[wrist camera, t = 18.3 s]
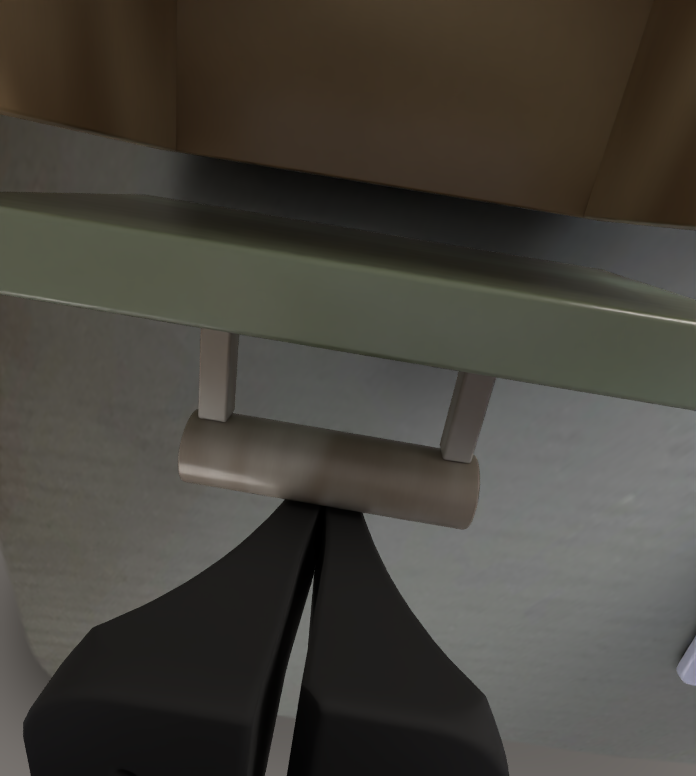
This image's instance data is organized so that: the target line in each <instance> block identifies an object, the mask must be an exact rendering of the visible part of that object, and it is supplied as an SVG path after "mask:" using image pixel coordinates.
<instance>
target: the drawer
mask: <svg viewBox="0 0 696 776" xmlns="http://www.w3.org/2000/svg"><path fill="white" fill-rule="evenodd" d="M0 114H2V115H6V116H11V117H15V118H20V119H24V120H29V121H33V122H38V123H42V124H47V125H51V126H56V127H60V128H65V129H70V130H74V131H79V132H83V133H88V134H92V135H97V136H101V137H106V138H110V139H115V140H119V141H124V142H128V143H133V144H137V145H142V146H146V147H151V148H155V149H160V150H166V151H172V152H179V153H185V154H191V155H197V156H203V157H209V158H215V159H222V160H228V161H234V162H240V163H246V164H252V165H259V166H265V167H271V168H277V169H283V170H289V171H295V172H302V173H308V174H314V175H320V176H326V177H332V178H339V179H345V180H351V181H357V182H363V183H369V184H375V185H382V186H388V187H394V188H400V189H406V190H412V191H419V192H425V193H431V194H437V195H443V196H449V197H456V198H462V199H468V200H474V201H480V202H486V203H492V204H499V205H505V206H511V207H517V208H523V209H529V210H536V211H542V212H548V213H554V214H560V215H566V216H572V217H579V218H585V219H591V220H597V221H605V222H615V223H624V224H634V225H644V226H654V227H664V228H674V229H684V230H694V231H696V0H0ZM0 294H1V295H7V296H13V297H19V298H25V299H31V300H37V301H43V302H49V303H55V304H61V305H67V306H73V307H79V308H85V309H91V310H97V311H103V312H109V313H115V314H121V315H127V316H132V317H138V318H144V319H150V320H156V321H162V322H168V323H174V324H180V325H186V326H192V327H198V328H201V336H200V373H199V409H196V410H195V411H194V412H193V413H192V415H191V416H190V418H189V420H188V422H187V424H186V427H185V429H184V432H183V435H182V438H181V443H180V448H179V454H178V472H179V476H180V478H181V479H182V480H183V481H184V482H188V483H194V484H200V485H206V486H212V487H217V488H223V489H229V490H235V491H241V492H246V493H252V494H258V495H264V496H270V497H275V498H281V499H287V500H293V501H299V502H304V503H310V504H316V505H322V506H328V507H334V508H339V509H345V510H351V511H357V512H363V513H368V514H374V515H380V516H386V517H392V518H397V519H403V520H409V521H415V522H421V523H426V524H432V525H438V526H444V527H450V528H456V529H461V530H464V529H467V528H468V527H469V526H470V524H471V522H472V520H473V518H474V515H475V512H476V508H477V503H478V498H479V489H480V471H479V464H478V460H477V458H476V456H475V455H473V454H474V451H475V448H476V444H477V441H478V437H479V434H480V431H481V427H482V424H483V420H484V417H485V414H486V410H487V407H488V403H489V400H490V397H491V393H492V390H493V386H494V383H495V380H496V377H497V378H503V379H509V380H515V381H520V382H526V383H532V384H538V385H544V386H550V387H556V388H562V389H568V390H574V391H580V392H586V393H592V394H598V395H604V396H610V397H616V398H622V399H628V400H634V401H640V402H646V403H652V404H658V405H664V406H670V407H676V408H682V409H688V410H694V411H696V300H694V299H691V298H688V297H685V296H682V295H679V294H676V293H672V292H669V291H666V290H663V289H660V288H657V287H654V286H651V285H648V284H645V283H642V282H639V281H636V280H632V279H629V278H626V277H623V276H620V275H617V274H614V273H611V272H608V271H605V270H602V269H597V268H590V267H584V266H578V265H572V264H566V263H560V262H554V261H548V260H542V259H536V258H529V257H523V256H517V255H511V254H505V253H499V252H493V251H487V250H481V249H474V248H468V247H462V246H456V245H450V244H444V243H438V242H432V241H426V240H420V239H413V238H407V237H401V236H395V235H389V234H383V233H377V232H371V231H365V230H359V229H352V228H346V227H340V226H334V225H328V224H322V223H316V222H310V221H304V220H298V219H291V218H285V217H279V216H273V215H267V214H261V213H255V212H249V211H243V210H236V209H230V208H224V207H218V206H212V205H206V204H200V203H194V202H188V201H182V200H175V199H169V198H163V197H157V196H151V195H140V194H91V193H41V192H0ZM239 334H240V335H246V336H252V337H258V338H264V339H270V340H276V341H282V342H288V343H294V344H300V345H306V346H312V347H318V348H324V349H329V350H335V351H341V352H347V353H353V354H359V355H365V356H371V357H377V358H383V359H389V360H395V361H401V362H407V363H413V364H419V365H425V366H431V367H437V368H443V369H449V370H455V371H459V372H458V376H457V380H456V384H455V388H454V392H453V395H452V399H451V403H450V407H449V411H448V415H447V419H446V422H445V426H444V430H443V434H442V438H441V442H440V448H435V447H430V446H424V445H418V444H412V443H406V442H400V441H394V440H388V439H383V438H377V437H371V436H365V435H359V434H353V433H347V432H341V431H335V430H330V429H324V428H318V427H312V426H306V425H300V424H294V423H288V422H282V421H277V420H271V419H265V418H259V417H253V416H247V415H241V414H235V413H233V412H234V409H235V393H236V376H237V360H238V344H239Z"/></svg>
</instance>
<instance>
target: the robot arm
mask: <svg viewBox="0 0 696 776" xmlns="http://www.w3.org/2000/svg"><path fill="white" fill-rule="evenodd" d="M314 570H315V572H314ZM313 575H314V581H313V593H312V605H311V617H310V629H309V641H308V651H307V657H306V662H305V668H304V673H303V679H302V684H301V691H300V697H299V703H298V709H297V715H296V722H295V728H294V734H293V740H292V747H291V753H290V760H289V765H288V772H287V776H509V772H508V765H507V759H506V755H505V751H504V747H503V744H502V740H501V737H500V734H499V731H498V728H497V725H496V722H495V719H494V717H493V714H492V711H491V708H490V706H489V703H488V700H487V698H486V696H485V695H484V694H483V693H482V692H481V691H480V690H479V689H478V688H477V687H476V686H475V685H474V683H473V682H472V681H471V680H470V679H469V678H468V677H467V676H466V675H465V674H464V673H463V672H462V671H461V670H460V669H459V668H458V667H457V666H456V665H455V664H454V663H453V662H452V661H451V660H450V659H449V658H448V657H447V656H446V654H445V653H444V652H443V651H442V650H441V649H440V647H439V646H438V645H437V644H436V643H435V642H434V640H433V639H432V638H431V636H430V635H429V634H428V632H427V631H426V630H425V628H424V627H423V626H422V624H421V623H420V622H419V620H418V619H417V618H416V616H415V615H414V614H413V612H412V611H411V609H410V608H409V606H408V605H407V603H406V602H405V600H404V599H403V597H402V596H401V594H400V592H399V591H398V589H397V587H396V586H395V584H394V582H393V581H392V579H391V577H390V575H389V573H388V572H387V570H386V568H385V566H384V564H383V562H382V560H381V558H380V556H379V553H378V551H377V549H376V547H375V545H374V542H373V540H372V537H371V535H370V532H369V530H368V527H367V524H366V522H365V519H364V516H363V513H362V512H357V511H351V510H345V509H339V508H334V507H328V506H322V505H316V504H310V503H304V502H299V501H293V500H287V499H285V500H284V501H283V502H282V504H281V505H280V506H279V507H278V508H277V509H276V510H275V511H274V512H273V513H272V514H271V516H270V517H269V518H268V519H267V520H266V521H265V522H263V523H262V524H261V525H260V526H259V527H258V528H257V529H256V530H255V531H254V532H253V533H252V534H251V535H250V536H249V537H247V538H246V539H245V540H244V541H243V542H242V543H240V544H239V545H238V546H237V547H236V548H234V549H233V550H232V551H231V552H229V553H228V554H227V555H225V556H224V557H223V558H221V559H220V560H219V561H217V562H216V563H214V564H213V565H211V566H210V567H209V568H207V569H206V570H204V571H203V572H201V573H200V574H198V575H197V576H195V577H194V578H192V579H190V580H189V581H187V582H186V583H184V584H182V585H180V586H179V587H177V588H175V589H173V590H171V591H170V592H168V593H166V594H164V595H162V596H161V597H159V598H157V599H155V600H153V601H151V602H149V603H147V604H145V605H143V606H141V607H139V608H137V609H134V610H132V611H130V612H128V613H125V614H123V615H121V616H119V617H116V618H114V619H112V620H109V621H107V622H105V623H102V624H100V625H97V626H95V627H93V628H92V629H91V630H90V631H89V632H88V634H87V635H86V636H85V637H84V638H83V639H82V641H81V642H80V643H79V644H78V645H77V646H76V647H75V648H74V650H73V651H72V652H71V653H70V654H69V656H68V657H67V658H66V659H65V660H64V662H63V663H62V664H61V665H60V667H59V668H58V670H57V671H56V673H55V674H54V675H53V677H52V678H51V680H50V681H49V683H48V684H47V686H46V687H45V688H44V690H43V691H42V693H41V694H40V695H39V697H38V698H37V700H36V701H35V703H34V704H33V706H32V707H31V708H30V710H29V712H28V714H27V716H26V718H25V720H24V722H23V737H24V743H25V748H26V753H27V758H28V763H29V768H30V773H31V776H265V772H266V767H267V762H268V757H269V752H270V746H271V742H272V737H273V732H274V727H275V722H276V717H277V712H278V707H279V702H280V697H281V692H282V687H283V683H284V678H285V673H286V669H287V665H288V661H289V657H290V653H291V650H292V647H293V643H294V640H295V636H296V633H297V630H298V626H299V623H300V620H301V616H302V613H303V609H304V606H305V603H306V599H307V596H308V592H309V589H310V586H311V582H312V579H313ZM676 670H677V673H678V675H679V676H680V678H681V680H682V681H683V682H685V683H687V684H690V685H694V686H696V636H695V638H694V639H693V641H692V643H691V644H690V646H689V648H688V649H687V651H686V652H685V654H684V656H683V657H682V659H681V660H680V662H679V664H678V665H677V668H676Z"/></svg>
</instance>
